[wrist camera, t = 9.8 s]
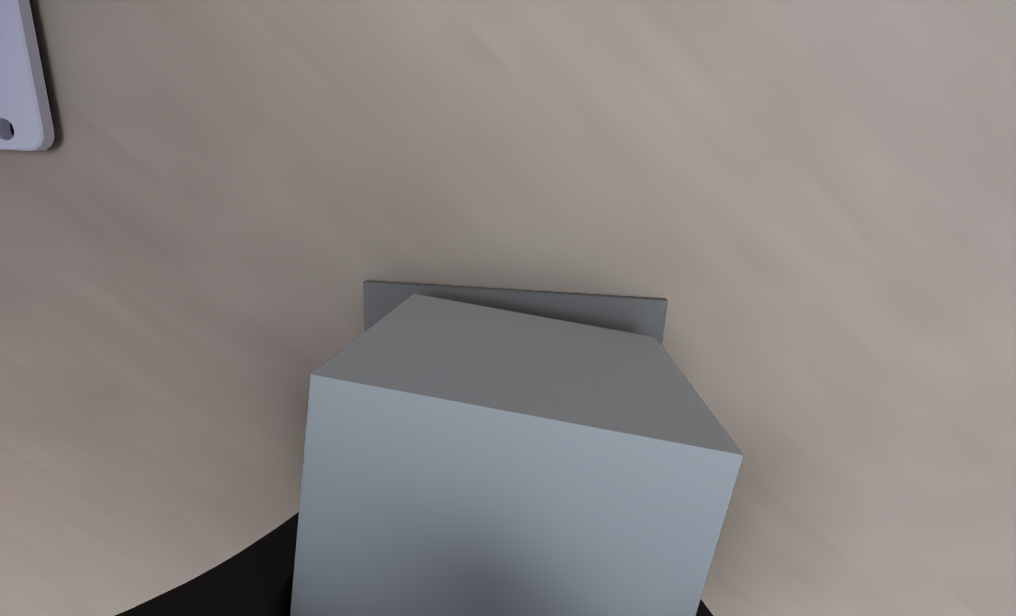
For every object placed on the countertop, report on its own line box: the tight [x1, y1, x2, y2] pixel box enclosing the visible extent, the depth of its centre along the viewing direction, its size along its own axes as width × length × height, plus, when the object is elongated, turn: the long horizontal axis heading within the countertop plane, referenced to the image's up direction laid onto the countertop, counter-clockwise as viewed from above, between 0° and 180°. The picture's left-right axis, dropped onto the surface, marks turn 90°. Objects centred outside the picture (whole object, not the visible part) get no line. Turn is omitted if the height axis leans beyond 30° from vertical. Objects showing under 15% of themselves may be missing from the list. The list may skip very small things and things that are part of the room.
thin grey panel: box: [364, 281, 667, 345], centre depth 15 cm, size 8×10×1 cm
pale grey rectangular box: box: [290, 294, 744, 616], centre depth 11 cm, size 6×9×6 cm, turn 171°
